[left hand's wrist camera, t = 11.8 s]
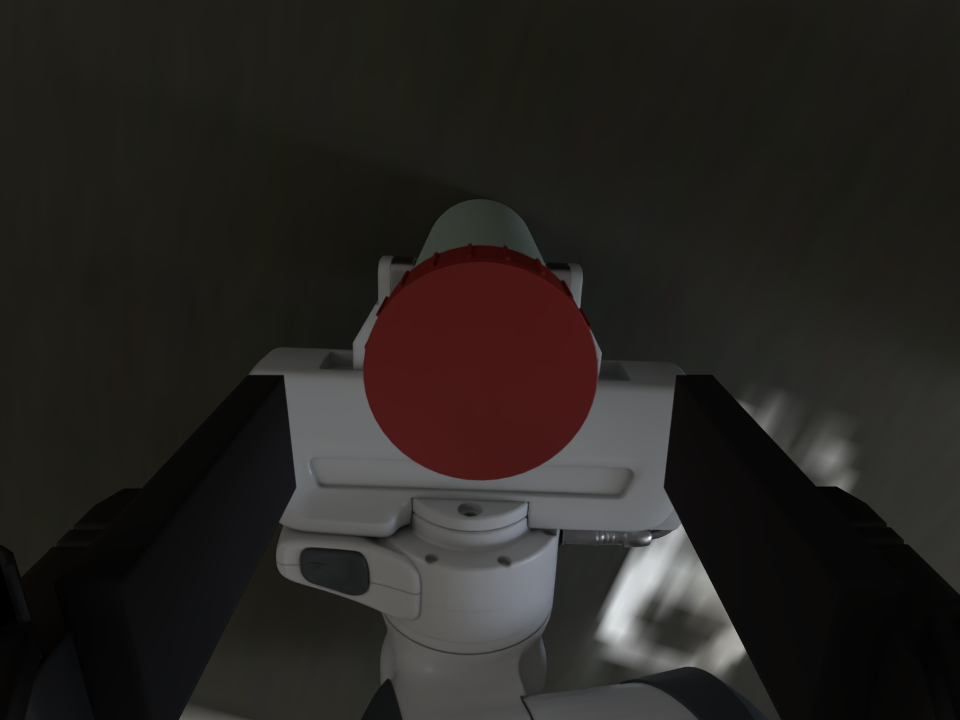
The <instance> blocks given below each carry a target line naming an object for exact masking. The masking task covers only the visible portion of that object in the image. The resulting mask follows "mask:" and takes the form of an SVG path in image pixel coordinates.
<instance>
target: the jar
mask: <svg viewBox="0 0 960 720" xmlns="http://www.w3.org/2000/svg"><path fill="white" fill-rule="evenodd" d="M468 243H472V246H473V245H488V246H497V247H503V246H504V245H505V246H507V247H508V249H511V250H514V251H517V252H520V253H523V254H525V255H527V256H529V257H531V258H533V259H536V258H538V259H540V261H541V264H542V265H544V266H546V265H545V263H544V261H543V259H542V257H541V255H540V253H539V250H538V248H537V246H536V244H535V242H534V240H533V238H532V236H531V234H530V232H529V230H528V228H527V226H526V224H525V223H524V221H523V220H522V219H521V217H520V216H519V215H518V214H517V213H516V212H514V211H513V210H512V209H510V208H509V207H507V206H506V205H503V204H501V203H499V202H496V201H492V200H487V199H473V200H468V201H464V202H461V203H458V204H456V205H455V206H453V207H451V208H450V209H448V210H447V211H445V212H444V213H443V214H442V215H441V216H440V217H439V219H438V220H437V221H436V222H435V224H434V226H433V227H432V229H431V232H430V234H429V236H428V238H427V240H426V242H425V244H424V247H423V249H422V251H421V253H420V255H419V257H418V260H417V262H416V264H415V266H414V268H415V267H416V266H417V265H419V264H420V263H422V262H423V261H425V260H426V259H428V258H430V257H432V256H433V254H434V253H435V252H438V254H439V253H441V252H444V251H447V250H450V249H454V248H459V247H463V246H468Z"/></svg>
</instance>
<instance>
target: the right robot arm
mask: <svg viewBox="0 0 960 720" xmlns="http://www.w3.org/2000/svg"><path fill="white" fill-rule="evenodd" d="M416 262H417V257H402V256H382V258H381V259H380V260H379V268H378V301H377V303H376V305H375V306H374V308H373V310H372V311H371V313H370V315H369V316H368V318H367V320H366V322H365V323H364V325H363V327H362V328H361V330H360V332H359V333H358V335H357V337H356V339H355V340H354V342H353V350H341V349H315V348H291V347H279V348H276V349H273V350H272V351H270V352H269V353H268V354H267V355H266V356H265V357H264V358H263V359H262V360H261V361H260V362H258V363H257V364H256V366H255V367H254V368H253V369H252V370H251V372H250V373H249V374H248V375H284V380H285V389H286V398H287V407H288V416H289V425H290V434H291V443H292V452H293V460H294V469H295V478H296V487H297V488H296V490H295V492H294V494H293V496H292V498H291V500H290V501H289V503H288V505H287V507H286V509H285V511H284V513H283V515H282V517H281V519H280V521H279V523H281V524H282V525H283V528H282V531H281V534H280V538H279V541H278V545H277V550H276V563H277V567H278V570H279V572H280V573H281V574H282V575H283V576H284V577H286V578H287V579H289V580H292V581H294V582H297V583H300V584H304V585H307V586H311V587H314V588H317V589H321V590H324V591H327V592H331V593H334V594H337V595H340V596H343V597H346V598H348V599H351V600H354V601H357V602H359V603H362V604H364V605H367V606H369V607H372V608H374V609H376V610H378V611H380V612H382V615H383V617H384V620H385V623H386V626H387V634H386V636H385V639H384V643H383V646H382V651H381V659H380V677H381V686H380V688H379V689H378V691H377V692H376V693H375V695H374V697H373V698H372V700H371V702H370V704H369V706H368V708H367V710H366V711H365V713H364V715H363V717H362V719H361V720H768V719H767V718H766V717H765V716H764V715H763V714H762V713H761V712H760V711H759V710H758V709H757V708H756V707H755V706H754V705H753V704H752V703H751V702H750V701H748V700H747V699H746V698H745V697H744V696H742V695H741V694H740V693H738V692H737V691H735V690H734V689H733V688H731V687H730V686H729V685H727V684H726V683H724V682H723V681H721V680H720V679H718V678H716V677H715V676H713V675H712V674H710V673H708V672H706V671H704V670H702V669H699V668H695V667H683V668H679V669H674V670H670V671H666V672H661V673H657V674H653V675H648V676H644V677H639V678H635V679H630V680H627V681H624V682H621V683H620V684H618V685H610V686H602V687H594V688H586V689H577V690H569V691H561V692H553V693H545V694H543V692H544V684H545V675H546V654H545V649H544V645H543V641H542V637H541V636H542V633H543V632H544V630H545V627H546V625H547V623H548V621H549V618H550V614H551V610H552V604H553V595H554V584H555V574H556V564H557V550H558V546H560V545H602V544H618V545H622V546H626V547H642V546H647V545H649V544H650V542H651V539H656V538H660V537H662V536H665V535H667V534H669V533H670V532H671V531H673V530H676V529H677V528H678V527H679V526H680V524H681V521H680V519H679V517H678V515H677V513H676V511H675V509H674V507H673V505H672V503H671V501H670V500H669V498H668V496H667V494H666V492H665V490H664V488H663V487H664V478H665V469H666V460H667V452H668V443H669V434H670V425H671V416H672V407H673V398H674V389H675V380H676V375H686V374H685V373H684V372H683V371H682V370H681V369H680V368H679V367H678V366H677V365H675V364H673V363H670V362H650V361H624V360H601V356H602V353H601V350H600V348H599V346H598V344H597V342H596V340H595V338H594V336H593V334H592V332H591V334H592V337H593V340H594V343H595V347H596V352H597V358H598V382H597V390H596V394H595V398H594V402H593V405H592V407H591V410H590V412H589V414H588V417H587V419H586V420H585V422H584V424H583V425H582V427H581V429H580V430H579V432H578V433H577V434H576V435H575V437H574V438H573V439H572V441H571V442H570V443H569V444H568V445H567V446H566V447H565V448H564V449H563V450H562V451H560V452H559V453H558V454H557V455H555V456H554V457H553V458H551V459H550V460H548V461H547V462H545V463H543V464H542V465H540V466H538V467H536V468H534V469H532V470H530V471H527V472H525V473H522V474H519V475H516V476H513V477H508V478H503V479H498V480H485V481H478V480H464V479H458V478H453V477H449V476H446V475H442V474H439V473H436V472H434V471H432V470H429V469H427V468H425V467H423V466H421V465H420V464H418V463H416V462H414V461H413V460H411V459H410V458H409V457H407V456H406V455H405V454H403V453H402V452H401V451H400V450H399V449H398V448H397V447H396V446H395V445H394V444H392V442H391V441H390V440H389V439H388V438H387V436H386V435H385V434H384V433H383V431H382V430H381V428H380V426H379V425H378V423H377V422H376V420H375V418H374V416H373V414H372V411H371V409H370V407H369V403H368V400H367V397H366V393H365V387H364V380H363V362H364V355H365V349H364V347H365V344H366V342H367V340H368V338H369V335H370V333H371V331H372V328H373V326H374V324H375V322H376V320H377V318H378V317H377V316H376V313H377V311H378V310H379V308H380V306H381V304H382V302H383V300H384V299H385V297H386V296H388V297H389V296H390V294H391V293H392V291H393V289H394V288H395V287H396V286H397V284H398V283H399V282H400V281H401V279H402V277H403V275H404V273H405V272H406V271H407V270H408V271H409V272H410V271H411V270H412V269H413V268H414V266H415V264H416ZM545 265H546V267H547V268H548V269H549V270H550V271H551V272H552V273H554V274H555V275H556V276H557V277H558V278H559V279H560V281H562V280H564V281H565V282H566V284H567V286H568V288H569V289H570V291H571V293H572V295H573V297H574V298H573V299H574V301H575V303H576V304H577V306H578V308H580V302H581V292H582V281H583V273H582V268H581V266H580V265H579V264H578V263H547V262H545ZM590 331H591V330H590ZM651 530H653V531H651Z"/></svg>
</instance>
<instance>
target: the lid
mask: <svg viewBox="0 0 960 720" xmlns="http://www.w3.org/2000/svg"><path fill="white" fill-rule="evenodd" d="M573 298H574V297H573V295H572V293H571V291H570V289H569V288H568V286H567V284H566V282H565V281H564V280H562V281H560V279H559V278H558V277H557V276H556V275H555V274H554V273H552V272H551V271H550V270H549V269H548V268H547V267H546V266H544V265H542V264H541V261H540V259H538V258H536V259H533V258H531V257H529V256H527V255H525V254H523V253H520V252H517V251H514V250H511V249H508V247H507V246H505V245H504V246H503V247H497V246H488V245H473V246H472V243H468V246H463V247H459V248H454V249H450V250H447V251H444V252H441V253H439V254H438V252H435V253H434V254H433V256H432V257H430V258H428V259H426V260H425V261H423V262H422V263H420V264H419V265H417V266H416V267H415V268H413V269H412V270H411V271H410V272H409V271H408V270H407V271H406V272H405V273H404V275H403V277H402V279H401V281H400V282H399V283H398V284H397V286H396V287H395V288H394V289H393V291H392V293H391V294H390V296H389V297H388V296H386V297H385V299H384V300H383V302H382V304H381V306H380V308H379V310H378V311H377V313H376V316H377V317H378V318H377V320H376V322H375V324H374V326H373V328H372V331H371V333H370V335H369V338H368V340H367V342H366V344H365V347H364V349H365V355H364V362H363V380H364V387H365V393H366V397H367V400H368V403H369V407H370V409H371V411H372V414H373V416H374V418H375V420H376V422H377V423H378V425H379V426H380V428H381V430H382V431H383V433H384V434H385V435H386V436H387V438H388V439H389V440H390V441H391V442H392V444H394V445H395V446H396V447H397V448H398V449H399V450H400V451H401V452H402V453H403V454H405V455H406V456H407V457H409V458H410V459H411V460H413V461H414V462H416V463H418V464H420V465H421V466H423V467H425V468H427V469H429V470H432V471H434V472H436V473H439V474H442V475H446V476H449V477H453V478H458V479H464V480H478V481H485V480H498V479H503V478H508V477H513V476H516V475H519V474H522V473H525V472H527V471H530V470H532V469H534V468H536V467H538V466H540V465H542V464H543V463H545V462H547V461H548V460H550V459H551V458H553V457H554V456H555V455H557V454H558V453H559V452H560V451H562V450H563V449H564V448H565V447H566V446H567V445H568V444H569V443H570V442H571V441H572V439H573V438H574V437H575V435H576V434H577V433H578V432H579V430H580V429H581V427H582V425H583V424H584V422H585V420H586V419H587V417H588V414H589V412H590V410H591V407H592V405H593V402H594V398H595V394H596V390H597V382H598V358H597V352H596V347H595V343H594V340H593V337H592V334H591V331H590V329H592V327H591V325H590V323H589V321H588V320H587V318H586V316H585V314H584V312H583V311H582V309H581V308H578V306H577V304H576V303H575V301H574V299H573Z"/></svg>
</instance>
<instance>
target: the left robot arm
mask: <svg viewBox="0 0 960 720" xmlns="http://www.w3.org/2000/svg"><path fill="white" fill-rule="evenodd" d="M296 488H297V487H296V478H295V469H294V460H293V452H292V443H291V434H290V425H289V416H288V407H287V398H286V389H285V380H284V375H247V376H246V377H245V379H244V380H243V381H242V382H241V383H240V384H239V385H238V386H237V387H236V388H235V389H234V390H233V391H232V393H231V394H230V395H229V396H228V397H227V398H226V399H225V400H224V401H223V402H222V403H221V404H220V405H219V406H218V408H217V409H216V410H215V411H214V412H213V413H212V414H211V415H210V416H209V417H208V418H207V419H206V420H205V421H204V423H203V424H202V425H201V426H200V427H199V428H198V429H197V430H196V431H195V432H194V433H193V434H192V435H191V436H190V438H189V439H188V440H187V441H186V442H185V443H184V444H183V445H182V446H181V447H180V448H179V449H178V450H177V451H176V453H175V454H174V455H173V456H172V457H171V458H170V459H169V460H168V461H167V462H166V463H165V464H164V465H163V467H162V468H161V469H160V470H159V471H158V472H157V473H156V474H155V475H154V476H153V477H152V478H151V479H150V480H149V482H148V483H147V484H146V485H145V486H144V487H143V488H142V489H122V490H121V491H119V492H117V493H116V494H114V495H112V496H110V497H109V498H107V499H105V500H103V501H102V502H100V503H98V504H96V505H95V506H94V507H93V508H91V509H90V510H89V511H88V512H87V513H86V514H85V515H84V516H83V517H82V518H81V519H80V520H79V521H78V522H77V523H76V524H75V525H74V529H73V530H69V531H68V532H67V533H66V534H65V535H64V536H63V537H62V538H61V539H60V540H59V541H58V542H57V546H56V547H52V548H51V549H50V550H49V551H48V552H47V553H46V554H45V555H44V556H43V557H42V558H41V559H40V560H39V561H38V562H37V563H36V564H35V565H34V566H33V567H32V568H31V569H30V570H29V571H27V572H26V573H25V574H24V575H23V576H22V577H20V574H19V571H18V567H17V564H16V560H15V557H14V554H13V552H11V551H10V550H8V549H7V548H6V547H4V546H2V545H0V720H179V718H180V716H181V714H182V712H183V710H184V708H185V706H186V704H187V703H188V701H189V699H190V697H191V695H192V693H193V691H194V689H195V687H196V685H197V683H198V681H199V679H200V677H201V675H202V673H203V671H204V669H205V667H206V665H207V663H208V661H209V659H210V657H211V655H212V653H213V651H214V649H215V647H216V645H217V643H218V641H219V639H220V637H221V635H222V634H223V632H224V630H225V628H226V626H227V624H228V622H229V620H230V618H231V616H232V614H233V612H234V610H235V608H236V606H237V604H238V602H239V600H240V598H241V596H242V594H243V592H244V590H245V588H246V586H247V584H248V582H249V580H250V578H251V576H252V574H253V572H254V570H255V568H256V567H257V565H258V563H259V561H260V559H261V557H262V555H263V553H264V551H265V549H266V547H267V545H268V543H269V541H270V539H271V537H272V535H273V533H274V531H275V529H276V527H277V525H278V523H279V521H280V519H281V517H282V515H283V513H284V511H285V509H286V507H287V505H288V503H289V501H290V500H291V498H292V496H293V494H294V492H295V490H296ZM663 488H664V490H665V492H666V494H667V496H668V498H669V500H670V501H671V503H672V505H673V507H674V509H675V511H676V513H677V515H678V517H679V519H680V521H681V523H682V525H683V527H684V529H685V531H686V533H687V535H688V537H689V539H690V541H691V543H692V545H693V547H694V549H695V551H696V553H697V555H698V557H699V559H700V561H701V563H702V565H703V567H704V568H705V570H706V572H707V574H708V576H709V578H710V580H711V582H712V584H713V586H714V588H715V590H716V592H717V594H718V596H719V598H720V600H721V602H722V604H723V606H724V608H725V610H726V612H727V614H728V616H729V618H730V620H731V622H732V624H733V626H734V628H735V630H736V632H737V634H738V636H739V637H740V639H741V641H742V643H743V645H744V647H745V649H746V651H747V653H748V655H749V657H750V659H751V661H752V663H753V665H754V667H755V669H756V671H757V673H758V675H759V677H760V679H761V681H762V683H763V685H764V687H765V689H766V691H767V693H768V695H769V697H770V699H771V701H772V703H773V704H774V706H775V708H776V710H777V712H778V714H779V716H780V718H781V720H960V595H959V594H958V593H957V592H956V591H955V590H954V589H953V588H952V587H951V586H950V585H949V584H948V583H947V582H946V581H945V580H944V579H943V578H942V577H941V576H940V575H939V574H938V573H937V572H936V571H935V570H934V569H933V568H932V567H931V566H930V565H929V564H928V563H927V562H926V561H925V560H924V559H922V558H921V557H920V556H919V555H918V554H917V553H916V552H915V551H914V550H913V549H912V548H911V547H910V546H909V545H908V544H904V540H903V539H902V538H901V537H900V536H899V535H898V534H897V533H896V532H895V531H894V530H893V529H892V528H891V527H887V523H886V522H885V521H884V520H883V519H882V518H881V517H880V516H878V515H877V514H876V513H875V512H874V511H873V510H872V509H871V508H870V507H869V506H868V505H867V504H866V503H864V502H863V501H861V500H859V499H857V498H856V497H854V496H852V495H850V494H849V493H847V492H845V491H843V490H842V489H840V488H838V487H816V486H815V485H814V484H813V483H812V482H811V480H810V479H809V478H808V477H807V476H806V475H805V474H804V473H803V472H802V471H801V470H800V469H799V468H798V467H797V465H796V464H795V463H794V462H793V461H792V460H791V459H790V458H789V457H788V456H787V455H786V454H785V453H784V451H783V450H782V449H781V448H780V447H779V446H778V445H777V444H776V443H775V442H774V441H773V440H772V439H771V438H770V436H769V435H768V434H767V433H766V432H765V431H764V430H763V429H762V428H761V427H760V426H759V425H758V424H757V423H756V421H755V420H754V419H753V418H752V417H751V416H750V415H749V414H748V413H747V412H746V411H745V410H744V409H743V408H742V406H741V405H740V404H739V403H738V402H737V401H736V400H735V399H734V398H733V397H732V396H731V395H730V394H729V393H728V391H727V390H726V389H725V388H724V387H723V386H722V385H721V384H720V383H719V382H718V381H717V380H716V379H715V377H714V376H713V375H676V380H675V389H674V398H673V407H672V416H671V425H670V434H669V443H668V452H667V460H666V469H665V478H664V487H663Z"/></svg>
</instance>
